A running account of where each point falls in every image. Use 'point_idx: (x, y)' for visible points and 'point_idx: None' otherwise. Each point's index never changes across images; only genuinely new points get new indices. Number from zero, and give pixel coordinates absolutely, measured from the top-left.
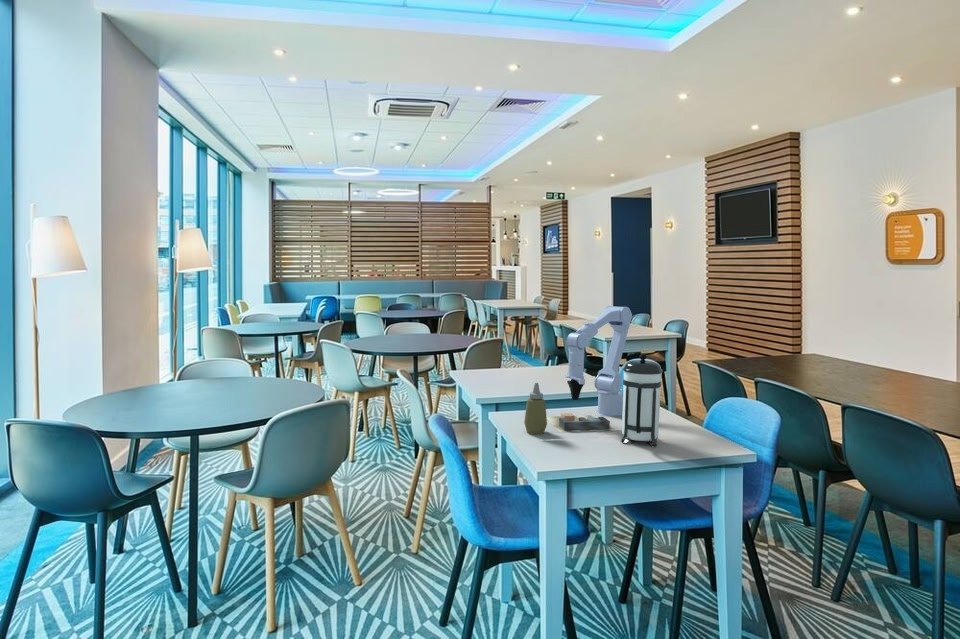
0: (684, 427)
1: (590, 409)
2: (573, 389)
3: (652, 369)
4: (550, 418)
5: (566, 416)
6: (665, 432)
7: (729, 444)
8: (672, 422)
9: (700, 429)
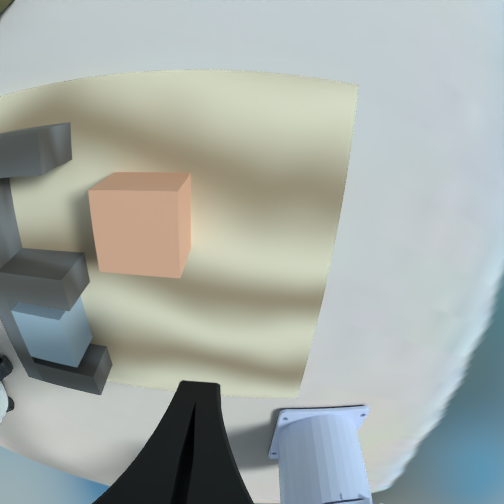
0: None
1: (414, 399)
2: (124, 480)
3: None
4: (287, 118)
5: (92, 207)
6: (76, 446)
7: (29, 458)
8: None
9: None
